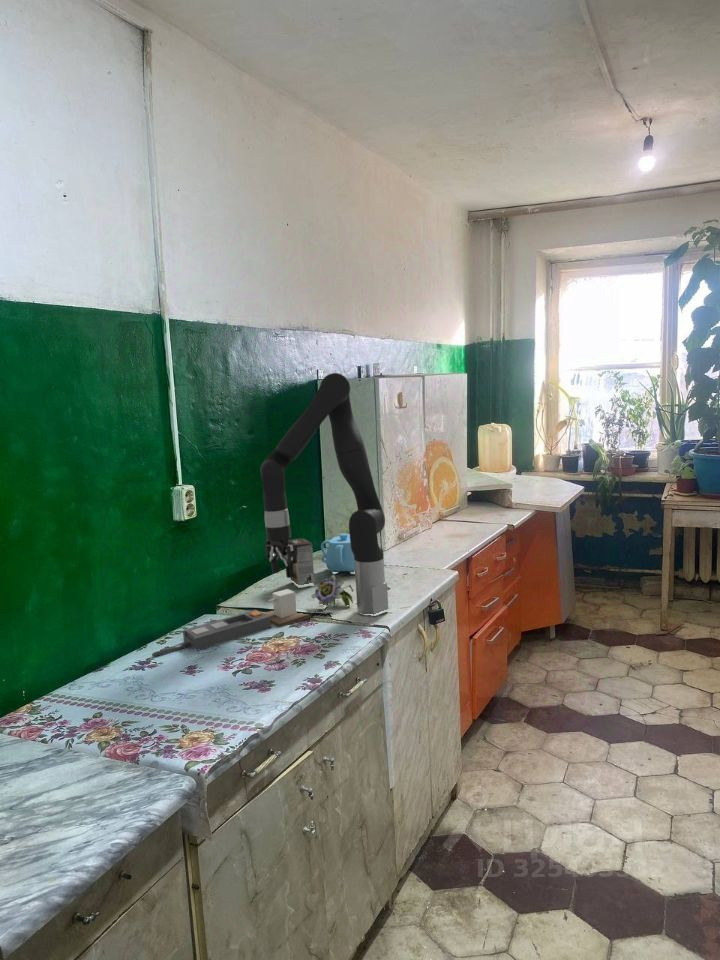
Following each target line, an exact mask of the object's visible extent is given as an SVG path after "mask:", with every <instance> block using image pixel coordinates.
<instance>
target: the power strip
mask: <svg viewBox="0 0 720 960" xmlns="http://www.w3.org/2000/svg"><path fill="white" fill-rule="evenodd" d="M264 613H265V612H262V611H259V610H258V609H253V610H249V611H245V612H242V613H239V614H235V615H231V616H228V617H225V618H221V619H217V620H215V621H214V620H213V621H210V622H207V623H203V624H200V625H196V626H193V627H190V628H186V629H182V635H183V636H182V637H183V642H184V643H182V644H178V645H177V644H176V645H174V646H171V647H168V648H165V649H161V650H158V651H154V652H152V654H151V656H152V657H153V656H156V657H158V656H157V655H159V656H162V655H165V654H164V653H166V654H168V653H167V652H169V653H172V652H175V650H176V651H178V649H179V650H182V649H185V647H186V648H189V647H190V648H192V649H194V650H195V649H196V651H199V650H198V649H200V650H202V649H206V648H208V647H211V646H216V645H219V644H222V643H225V642H228V641H229V642H230V641H231V640H235V639H238V638H241V637H245V636H249V635H251V634H254V633H258V632H262V631H264V630H268V629H270V628H272V625H271V624H272V623H270V616H268V615H266V614H264ZM171 651H172V652H171ZM161 654H162V655H161Z"/></svg>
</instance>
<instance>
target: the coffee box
mask: <svg viewBox="0 0 720 960" xmlns="http://www.w3.org/2000/svg"><path fill="white" fill-rule="evenodd" d="M288 543H289V545H292V544H294V545H295V550H296V558H297V563H296V564H293V571H294V576H293V577H291V578H290V581H291V580H292V581H294V582H295V583H296V584H298V585H304V584H309V583H314V582H315V572H314V571H315V570H314V555H313V553H314V552H313V543H312V542H311V541H309V540H308V539H305V538H303V537H301V538H295V539H288ZM292 559H293V556H292Z"/></svg>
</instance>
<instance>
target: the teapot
mask: <svg viewBox="0 0 720 960" xmlns="http://www.w3.org/2000/svg"><path fill="white" fill-rule="evenodd" d="M325 544H328V546H327V550H325ZM320 549H321V552H322V554H323V555H322V557H321V561H322V563H324V564H326V567H327V569H328V570H329V571H330V572H332V571H333V572H338V571H339V572H348V573H349V572H354V571H355V564H354V554H353V552H352V550H351V544H350V535H349V533H340V534H339V536H335V537H333V538H331V539H330V540H329V539H326V540H324V541H323V542H321V545H320Z"/></svg>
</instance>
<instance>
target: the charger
mask: <svg viewBox="0 0 720 960" xmlns="http://www.w3.org/2000/svg"><path fill="white" fill-rule="evenodd" d="M296 600H297V599H296V592H295V591H294V590H291V589H289V588H287V589H286V588H285V589H282V590H278V591H275V592H272V598H270V599H268V601H267V602H268V603H270V604H272V603H273V610H274V615H276V616H279V617H281V618H283V617H286V616H290V615H293V614H297V611H296V607H297V602H296Z"/></svg>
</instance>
